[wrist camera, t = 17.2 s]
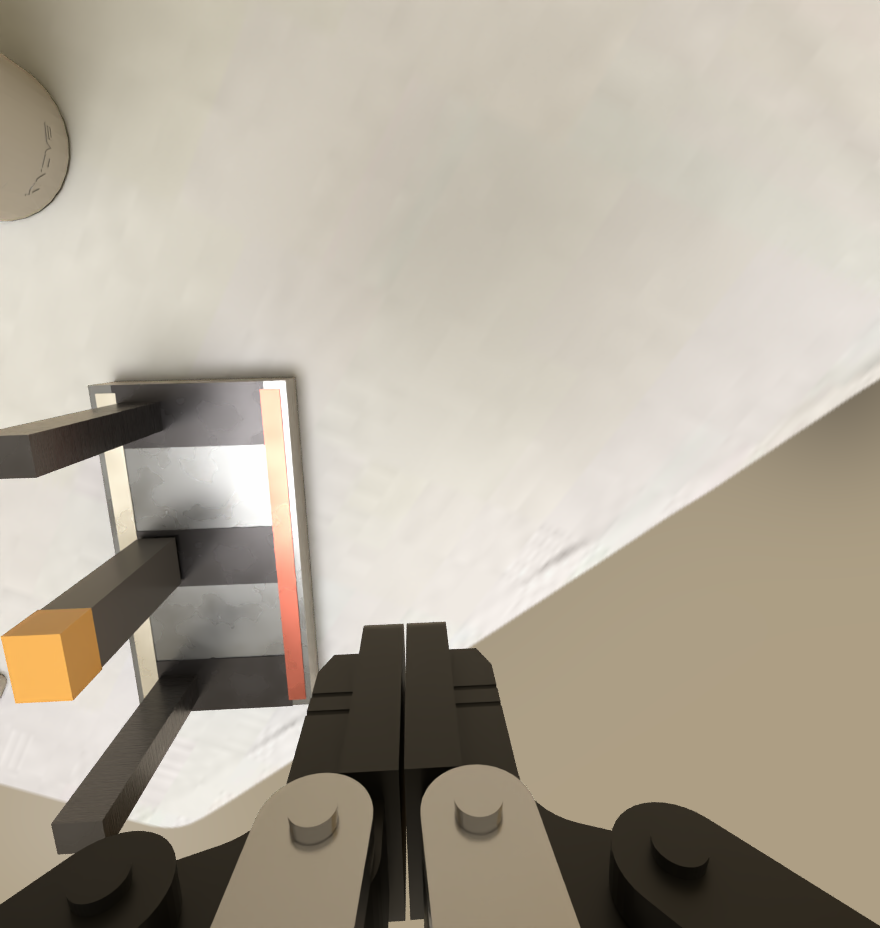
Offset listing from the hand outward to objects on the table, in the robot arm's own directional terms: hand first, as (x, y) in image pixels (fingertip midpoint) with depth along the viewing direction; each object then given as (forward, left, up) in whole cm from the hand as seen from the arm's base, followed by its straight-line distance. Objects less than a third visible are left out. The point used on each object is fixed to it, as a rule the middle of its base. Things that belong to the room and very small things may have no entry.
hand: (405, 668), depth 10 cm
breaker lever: (-12, -14, -26) cm, 32 cm away
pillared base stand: (-9, -13, -29) cm, 33 cm away
